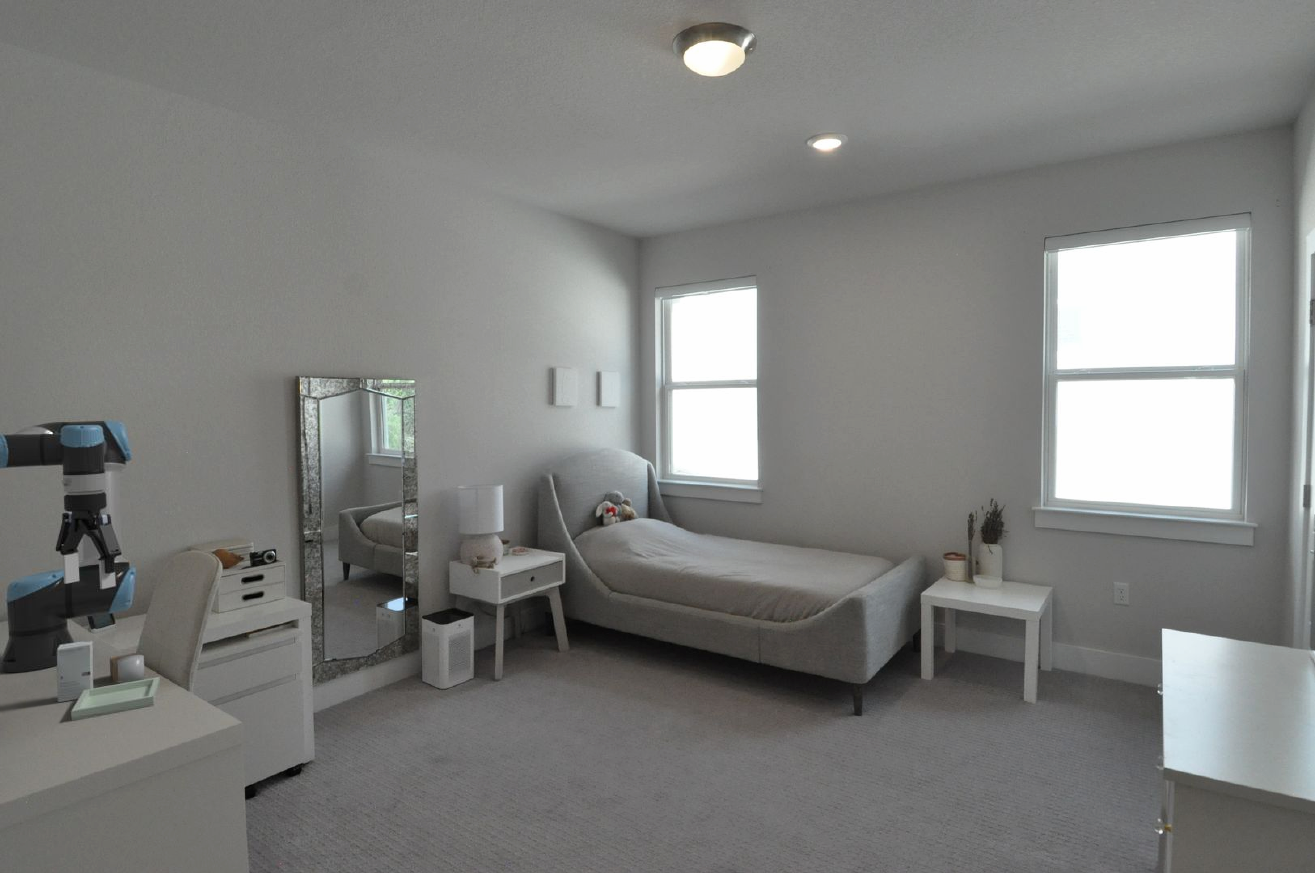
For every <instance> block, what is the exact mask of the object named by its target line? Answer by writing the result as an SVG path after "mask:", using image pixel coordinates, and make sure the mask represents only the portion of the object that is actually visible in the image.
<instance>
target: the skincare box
mask: <svg viewBox="0 0 1315 873" xmlns="http://www.w3.org/2000/svg"><path fill="white" fill-rule="evenodd" d="M93 643H94V642H93V640H85V641H84V640H83V641H76V642H75V641H74V643H69V644H62V645H60V646H59V647H58V649H57V665H56V671H57V672H56V674H57V675H56V676H57V680H56V681H57V703H63V702H67V701H74V700H78V699H79V698H80V696H81V694H82V693H83V691H84V690H87V689H93V688H94V663H93V662H94V657H93V656H94V655H93V654H94V653H93V652H94V651H93V650H94V649H93Z"/></svg>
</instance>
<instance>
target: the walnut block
mask: <svg viewBox="0 0 1315 873" xmlns="http://www.w3.org/2000/svg"><path fill="white" fill-rule="evenodd" d="M132 655H137V654H136V652H130V653H126V654H121V655H117V656H113V657H109V672H110V673H109V674H110V679H111V681H112V682H113V683H114V684H115V683H119V682H118V681H119V680H118V660H119V659H121V658H123V657H127V656H132Z"/></svg>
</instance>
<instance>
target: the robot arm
mask: <svg viewBox="0 0 1315 873" xmlns="http://www.w3.org/2000/svg"><path fill="white" fill-rule="evenodd" d="M132 460H133V457H132V452H131V447H130V444H129V439H128V434H127V428H126V425H125V424H124V423H123V422H122V421H116V420H115V421H114V420H113V421H109V420H108V421H107V420H96V421H95V420H90V421H89V420H88V421H54V422H53V421H52V422H46V423H42V424H36V425H32V426H28V427H24V428H22V429H19V430H18V431H16V432H15V433H14V434H12V433H11V434H0V469H9V468H26V467H27V468H29V467H47V466H48V467H50V466H53V467H54V466H62V480H61V484H62V485H63V492H64V493H67V494H65V495H64V496H63V508H64V509H63V510H65V511H66V512H63V513H62V515H61V525H60V530H59V534H58V537H57V541H56V545H55V548H54V549H55V552H58V553H59V552H60V555H62V566H63V567H62V569H63V570H62V569H57V570H50V571H43V572H40V573H35V574H32V575H31V574H30V575H27V576H24V577H21V578H17V579H14V580H13V581H12V582H10V583H9V584H8V585H7V588H6V599H5V603H6V605H7V606H6V607H7V625H8V640H7V643H6V646H5V648H4V651H3V653H2V656H1V659H0V670H1V672H3V673H25V672H31V671H39V670H43V669H47V668H51V667H55V666H56V667H57V649H58V647H59V646H60V645H62V644H69V643H75V641H74V639H73V637H72V635H71V633H70V631H69V629H68V620H70V619H78V618H83V617H84V618H85V617H91V616H99V615H105V614H112V613H117V612H123V611H126V610H128V609H130V608H131V606H132V603H133V600H134V599H133V598H134V592H135V585H136V584H135V583H136V575H137V569H136V568H135V567H133V566H130V560H128V559H127V558H125V557H124V556H123V536H122V513H121V512H122V508H121V506H122V505H121V483H120V482H121V480H120V479H121V478H120V476H121V475H120V473H121V472H122V471H124V470H125V469H126V468H127V462H130V461H132ZM81 541H82V561H81V562H79V550H78V547H79V545H80V543H81Z"/></svg>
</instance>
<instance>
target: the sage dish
mask: <svg viewBox="0 0 1315 873" xmlns="http://www.w3.org/2000/svg"><path fill="white" fill-rule="evenodd" d="M160 679H161V678H160V676H158V677H157V676H156V677H152V678H147V679H146V678H145V680H139V681H134V682H128V683H122V684H119V683H117V684H112V685H105V686H101V687H93V689H87V690H84V691H83V693H82V694H81V696H80V698H79V699H77V701H76V703H75V704H74V706H73V707H72V710H71V711H70V712H71V713H70V715H71V722H73V721H79V720H84V719H88V718H95V717H100V716H105V715H110V714H115V713H120V712H126V711H131V710H137V709H141V708H147V707H151V706H154V705H155V703H156V699H157V695H158V692H159V690H160V687H161V686H160V685H161V681H160ZM154 702H155V703H154Z"/></svg>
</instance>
